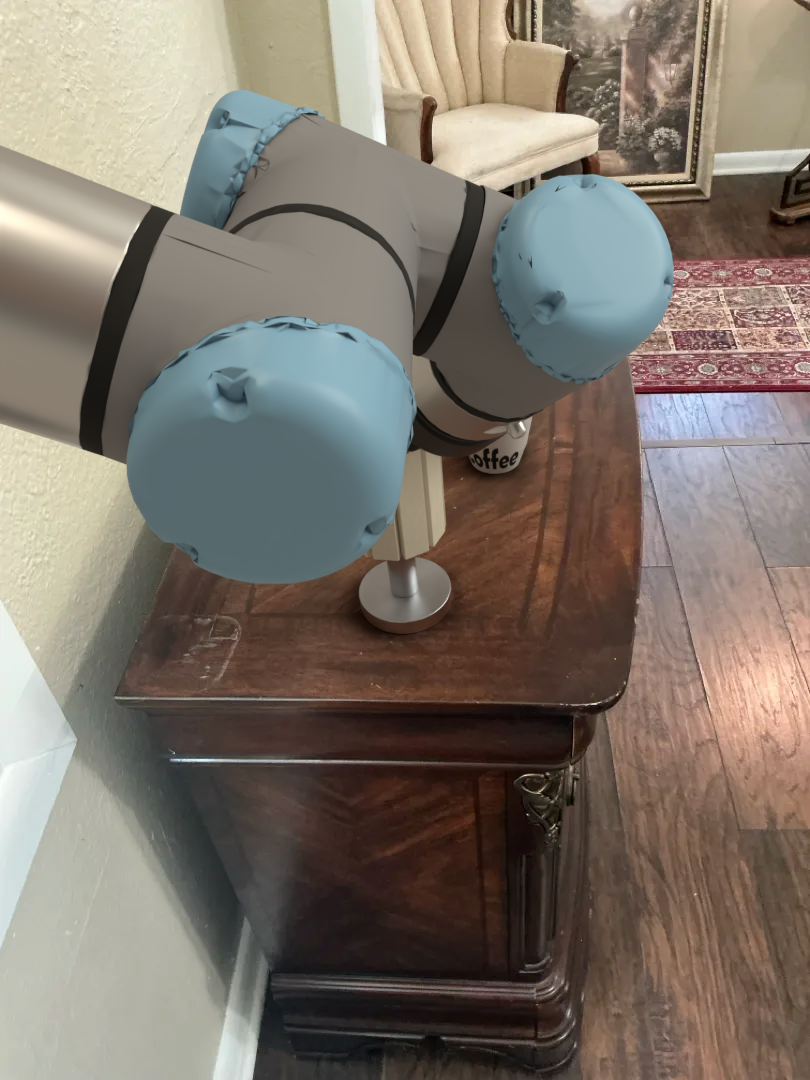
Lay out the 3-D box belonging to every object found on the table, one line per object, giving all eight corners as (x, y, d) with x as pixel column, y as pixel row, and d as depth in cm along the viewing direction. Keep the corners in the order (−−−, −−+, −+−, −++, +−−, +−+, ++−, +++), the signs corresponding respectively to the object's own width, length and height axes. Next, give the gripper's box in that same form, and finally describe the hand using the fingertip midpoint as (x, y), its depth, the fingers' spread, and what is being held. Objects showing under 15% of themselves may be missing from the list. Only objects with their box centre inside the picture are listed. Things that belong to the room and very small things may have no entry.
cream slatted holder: (351, 569, 67) (328, 441, 59) (341, 502, 73) (320, 379, 65) (453, 552, 67) (444, 424, 59) (435, 488, 73) (425, 363, 65)
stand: (365, 641, 72) (343, 514, 63) (356, 576, 78) (334, 451, 69) (459, 625, 73) (450, 496, 63) (443, 561, 79) (432, 435, 69)
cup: (445, 475, 88) (439, 391, 81) (471, 431, 93) (467, 348, 87) (522, 489, 85) (522, 403, 79) (544, 442, 91) (546, 358, 84)
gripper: (321, 508, 44) (268, 557, 66) (646, 380, 51) (500, 462, 72) (264, 375, 45) (229, 467, 66) (596, 263, 51) (465, 380, 73)
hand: (371, 464), depth 69 cm, fingers closed on cream slatted holder, 8 cm apart
